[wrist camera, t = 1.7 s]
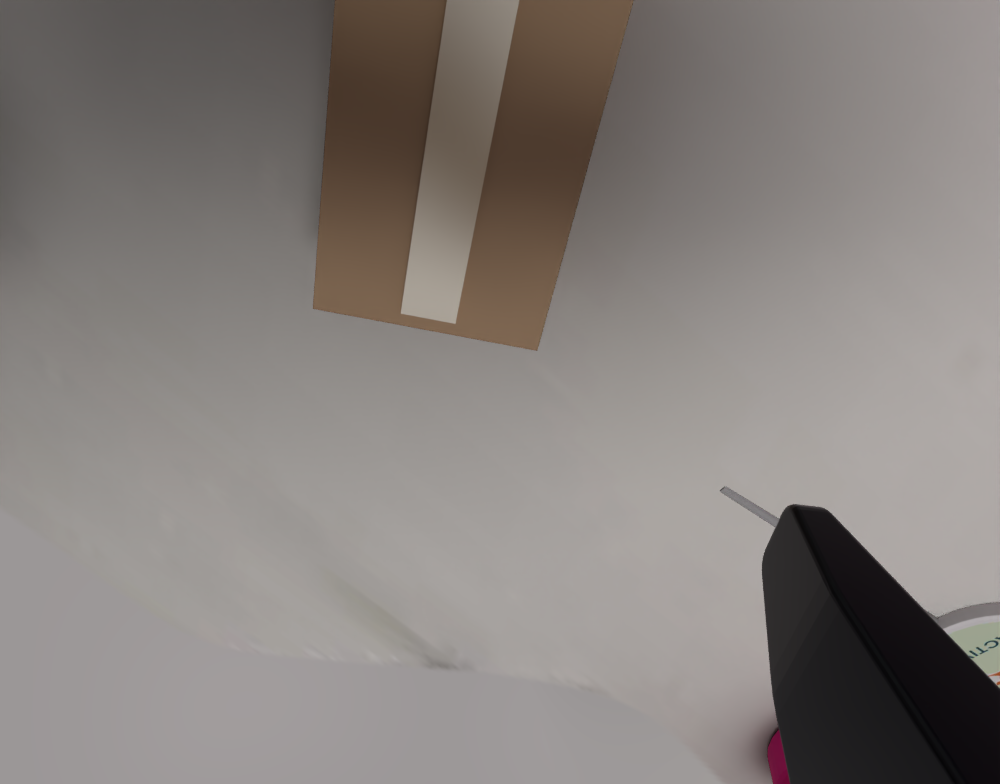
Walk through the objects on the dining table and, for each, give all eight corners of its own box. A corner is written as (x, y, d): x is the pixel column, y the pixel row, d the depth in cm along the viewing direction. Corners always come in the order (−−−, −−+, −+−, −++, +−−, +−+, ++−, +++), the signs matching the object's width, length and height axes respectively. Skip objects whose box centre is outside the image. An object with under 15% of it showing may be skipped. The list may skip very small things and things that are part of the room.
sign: (793, 443, 24) (1105, 659, 28) (787, 423, 24) (1093, 637, 29) (662, 540, 26) (967, 722, 31) (660, 520, 27) (959, 701, 32)
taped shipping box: (538, 281, 21) (537, 354, 19) (339, 242, 21) (311, 312, 19) (630, -70, 17) (644, -32, 14) (372, -130, 16) (340, -102, 14)
